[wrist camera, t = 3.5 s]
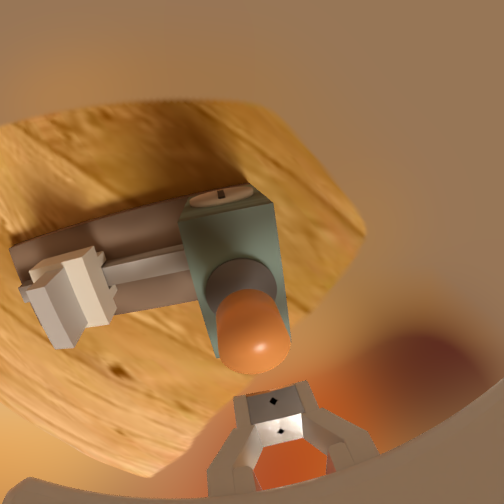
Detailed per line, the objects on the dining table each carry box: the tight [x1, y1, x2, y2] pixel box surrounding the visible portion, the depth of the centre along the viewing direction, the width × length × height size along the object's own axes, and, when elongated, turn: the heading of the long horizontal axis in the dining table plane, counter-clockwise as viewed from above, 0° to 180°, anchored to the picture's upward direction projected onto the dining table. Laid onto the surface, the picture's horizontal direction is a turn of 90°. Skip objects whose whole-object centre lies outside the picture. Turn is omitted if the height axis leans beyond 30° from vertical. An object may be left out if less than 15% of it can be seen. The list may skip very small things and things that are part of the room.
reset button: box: [216, 289, 291, 374], centre depth 15 cm, size 4×4×3 cm
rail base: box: [9, 183, 291, 358], centre depth 23 cm, size 12×30×12 cm, turn 100°
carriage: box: [26, 246, 117, 349], centre depth 23 cm, size 7×7×9 cm
